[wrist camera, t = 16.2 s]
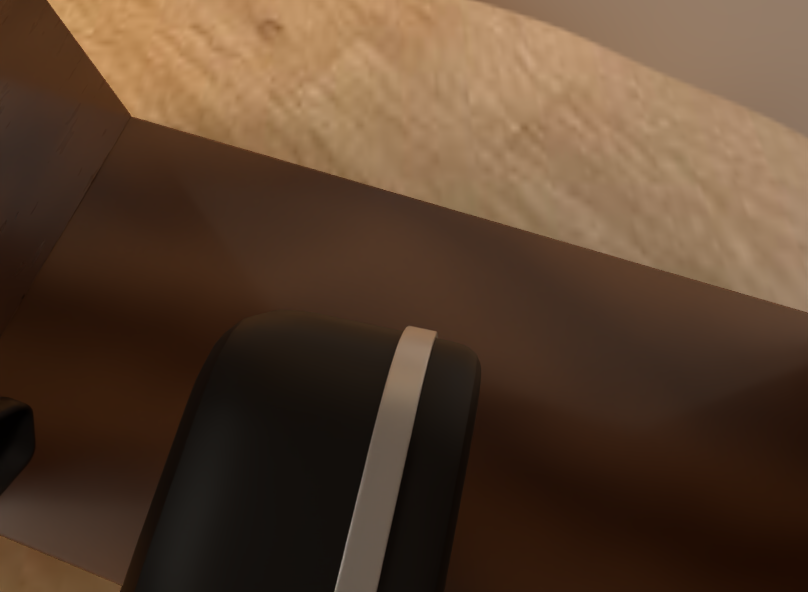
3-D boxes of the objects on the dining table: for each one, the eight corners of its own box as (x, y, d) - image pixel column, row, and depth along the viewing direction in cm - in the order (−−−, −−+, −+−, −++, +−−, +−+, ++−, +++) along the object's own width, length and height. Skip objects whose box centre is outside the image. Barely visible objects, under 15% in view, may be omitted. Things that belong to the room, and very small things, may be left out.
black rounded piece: (329, 401, 18) (191, 237, 7) (453, 429, 18) (500, 299, 7) (259, 660, 16) (-90, 974, 5) (400, 699, 15) (348, 1128, 5)
